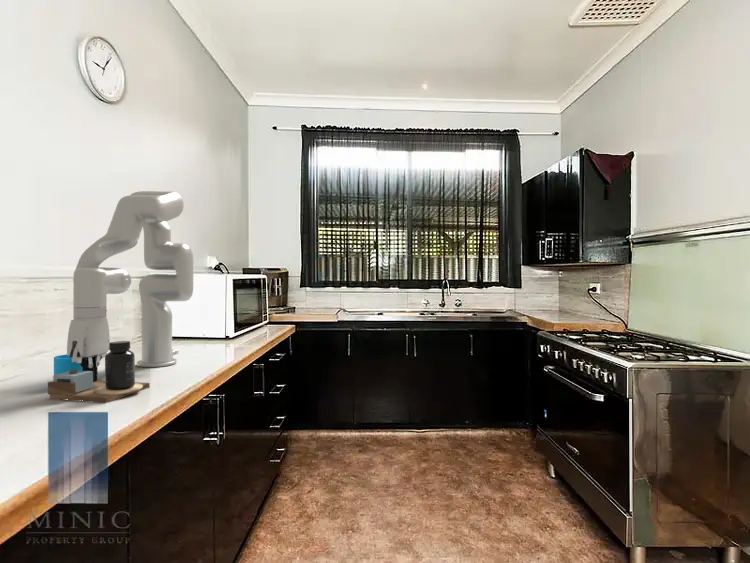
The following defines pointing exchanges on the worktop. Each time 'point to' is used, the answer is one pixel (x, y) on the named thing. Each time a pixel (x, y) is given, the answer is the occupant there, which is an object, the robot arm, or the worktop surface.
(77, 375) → the cover
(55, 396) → the board
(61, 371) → the mug
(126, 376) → the supplement bottle
